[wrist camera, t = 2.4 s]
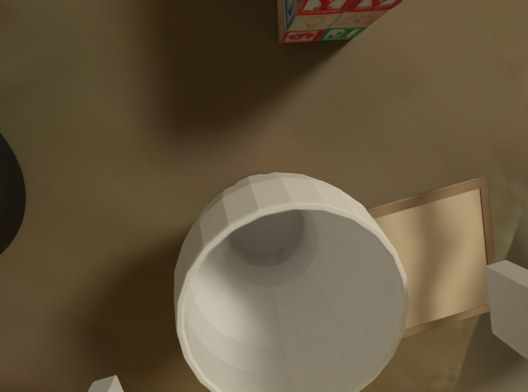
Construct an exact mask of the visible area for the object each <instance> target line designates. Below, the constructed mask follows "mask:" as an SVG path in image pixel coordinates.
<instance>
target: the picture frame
mask: <svg viewBox="0 0 528 392" xmlns="http://www.w3.org/2000/svg"><path fill="white" fill-rule="evenodd" d="M366 210H367V212H368V213H369V214H370V215H371V217H372V218H373V219H374V220H375V222H376V223H377V224H378V225H379V227H380V228H381V230H382V231H383V232H384V234H385V235H386V237H387V238H388V240H389V241H390V243H391V244H392V246H393V247H394V249H395V250H396V252H397V254H398V256H399V259H400V261H401V264H402V266H403V269H404V271H405V274H406V276H407V285H408V295H409V310H408V315H407V321H406V326H405V332H404V334H403V336H402V338H404V337H408V336H411V335H414V334H417V333H421V332H424V331H427V330H430V329H434V328H437V327H440V326H444V325H447V324H450V323H453V322H457V321H460V320H463V319H466V318H470V317H473V316H476V315H479V314H483V313H486V312H489V311H490V305H489V295H488V286H487V276H486V267H485V266H487V265H491V264H494V263H496V261H495V250H494V239H493V227H492V216H491V205H490V193H489V182H488V177H478V178H475V179H471V180H468V181H464V182H461V183H457V184H454V185H450V186H447V187H443V188H440V189H436V190H433V191H429V192H426V193H422V194H419V195H415V196H412V197H408V198H404V199H401V200H397V201H394V202H390V203H387V204H383V205H380V206H376V207H373V208H369V209H366Z"/></svg>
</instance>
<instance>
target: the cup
mask: <svg viewBox="0 0 528 392" xmlns="http://www.w3.org/2000/svg"><path fill="white" fill-rule="evenodd" d="M174 306H175V322H176V332H177V336H178V339H179V342H180V346H181V349H182V353H183V356H184V359H185V360H186V362H187V363H188V365H189V366H190V368H191V369H192V371H193V372H194V374H195V375H196V377H197V378H198V380H199V381H200V382H201V383H202V384H203V385H204V386H206V387H207V388H208V389H209V390H210V391H211V392H359V391H360V390H362V389H363V388H364V387H365V386H367V385H368V384H369V383H370V382H372V381H373V380H374V379H375V378H376V377H377V376H378V375H379V373H380V372H381V371H382V370H383V368H384V367H385V366H386V365H387V363H388V362H389V361H390V360H391V358H392V357H393V355H394V353H395V351H396V349H397V347H398V345H399V343H400V340H401V338H402V336H403V334H404V332H405V326H406V321H407V315H408V310H409V295H408V285H407V276H406V274H405V271H404V269H403V266H402V264H401V261H400V259H399V256H398V254H397V252H396V250H395V249H394V247H393V246H392V244H391V243H390V241H389V240H388V238H387V237H386V235H385V234H384V232H383V231H382V230H381V228H380V227H379V225H378V224H377V223H376V222H375V220H374V219H373V218H372V217H371V215H370V214H369V213H368V212H367V210H366V209H365V208H364V207H363V205H362V204H360V203H359V202H357V201H356V200H354V199H353V198H351V197H350V196H349V195H347V194H346V193H344V192H343V191H341V190H340V189H338V188H336V187H334V186H332V185H330V184H328V183H326V182H323V181H320V180H317V179H314V178H311V177H308V176H305V175H302V174H291V173H270V174H265V175H263V174H258V175H254V176H249V177H246V178H244V179H242V180H240V181H238V182H237V183H236V184H235V185H233V186H231V187H229V188H227V189H225V190H224V191H222V192H221V193H220V194H219V195H218V196H217V197H216V198H215V199H213V200H212V201H211V202H210V203H209V204H208V205H207V206H206V207H204V209H203V210H202V212H201V213H200V215H199V216H198V218H197V219H196V221H195V222H194V224H193V225H192V227H191V229H190V230H189V232H188V234H187V236H186V238H185V240H184V242H183V245H182V248H181V251H180V254H179V258H178V261H177V264H176V267H175V271H174Z"/></svg>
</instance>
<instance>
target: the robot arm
mask: <svg viewBox="0 0 528 392" xmlns="http://www.w3.org/2000/svg"><path fill="white" fill-rule="evenodd" d="M25 200H26V194H25V185H24V179H23V175H22V172H21V169H20V166H19V163H18V161H17V159H16V157H15V155H14V153H13V151H12V149H11V148H10V146H9V145H8V143H7V142H6V140H5V139H4V137H3V136H2V135H1V134H0V253H2V252H3V251H4V250H5V249H6V248H7V246H8V245H9V244H10V243H11V241H12V240H13V239H14V237H15V235H16V234H17V232H18V230H19V228H20V225H21V222H22V219H23V216H24V210H25ZM485 267H486V276H487V286H488V295H489V305H490V314H491V324H492V333H493V334H495V335H496V336H497V337H499V338H500V339H501V340H503V341H504V342H505V343H506V344H508V345H509V346H511V347H512V348H513V349H515V350H516V351H517V352H518V353H520V354H521V355H522V356H524V357H525V358H526V359H527V360H528V270H527V269H524V268H522V267H520V266H518V265H516V264H513V263H511V262H509V261H507V260H504V261H501V262H498V263H494V264H491V265H487V266H485ZM88 392H124V391H123V389H122V387H121V385H120V382H119V380H118V378H117V376H116V375H114V376H111V377H108V378H104V379H101V380H97V381H94V382H93V383H92V385H91V387H90V388H89V390H88Z"/></svg>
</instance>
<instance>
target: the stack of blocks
mask: <svg viewBox="0 0 528 392" xmlns="http://www.w3.org/2000/svg"><path fill="white" fill-rule="evenodd" d="M401 2H402V0H277V11H278V29H279V42H280V44H286V43H303V42H316V41H327V40H346V39H353V38H354V37H356V36H357V35H358V34H360V33H361V32H362V31H364V30H365V29H366V28H367V27H368V26H369V25H370V24H372V23H373V22H374V21H376V20H377V19H378V18H380V17H381V16H382V15H384V14H385V13H386V12H387V11H388V10H389V9H392V8H394V7H395V6H396V5H398V4H399V3H401Z"/></svg>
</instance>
